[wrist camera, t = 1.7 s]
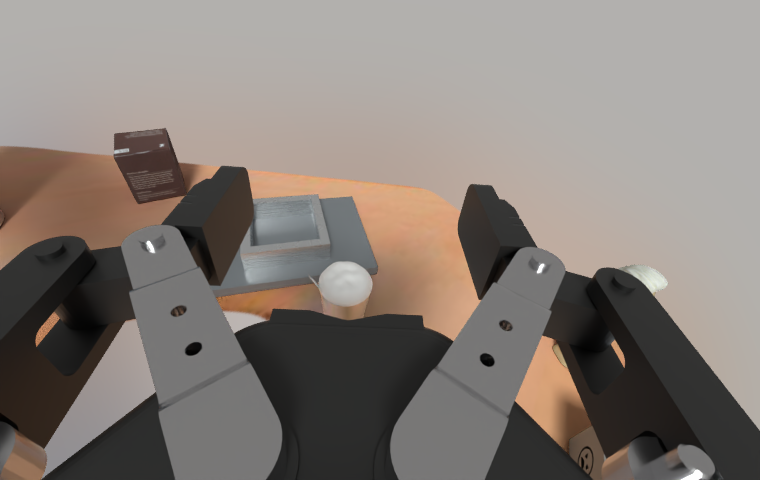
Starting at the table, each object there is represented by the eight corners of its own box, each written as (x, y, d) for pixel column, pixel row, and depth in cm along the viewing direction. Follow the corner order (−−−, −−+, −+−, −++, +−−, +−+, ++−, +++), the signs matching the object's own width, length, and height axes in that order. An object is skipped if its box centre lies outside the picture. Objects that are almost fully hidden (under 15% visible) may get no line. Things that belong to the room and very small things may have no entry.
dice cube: (568, 506, 25) (606, 493, 22) (568, 439, 29) (601, 419, 25) (639, 543, 24) (691, 535, 21) (631, 469, 28) (674, 452, 24)
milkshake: (307, 321, 34) (302, 254, 27) (357, 309, 36) (364, 243, 29) (317, 362, 31) (315, 298, 24) (371, 347, 33) (382, 283, 26)
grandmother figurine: (577, 386, 32) (670, 311, 24) (541, 358, 34) (615, 279, 25) (603, 339, 37) (689, 262, 28) (570, 317, 38) (641, 237, 30)
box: (183, 173, 50) (167, 127, 45) (187, 196, 46) (170, 148, 41) (135, 180, 48) (113, 132, 43) (136, 205, 44) (112, 155, 39)
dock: (192, 300, 34) (181, 277, 32) (203, 215, 44) (196, 192, 41) (376, 273, 40) (380, 252, 37) (351, 203, 49) (352, 182, 47)
